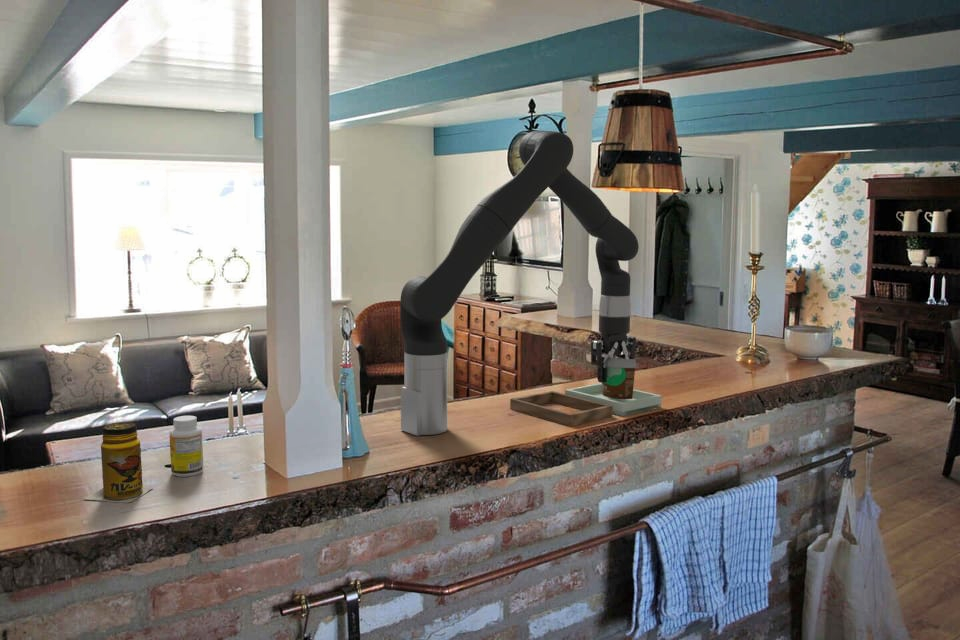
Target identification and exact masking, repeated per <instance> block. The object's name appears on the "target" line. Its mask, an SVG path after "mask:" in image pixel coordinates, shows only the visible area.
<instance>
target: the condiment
mask: <svg viewBox="0 0 960 640" xmlns="http://www.w3.org/2000/svg"><path fill="white" fill-rule="evenodd" d="M137 429H138V427H137V425H136V423H135V422H131V421H130V422H128V421H120V422H119V421H118V422H112V423H109V424H106V425H105V426H103V427H102V430H101V431H102V442H101V444H100V452H101V453H100V456H101V458H100V459H101V470H102V474H101V475H102V476H101V477H102V485H103V486H102V488H100V489H99V490H97V491H96V492H94V493H92V494H90V495H88V496H86V497H84V498H83V500H87V501H88V500H89V501H92V500H93V501H100V502H101V501H103V502H110V503H111V502H112V503H125V504H126V503H131V502H133V501H134V500H136V499H139V498H140V497H142V496H143V495H145V494H146V493H148V492H149V491H150V490H151V491H152V489H153V488H155V487H153V486H151V487H150V486H143V469H142V467H143V466H142V448H141V441H140V439H139V438H138V434H139V433H138V431H137Z"/></svg>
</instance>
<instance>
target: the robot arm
mask: <svg viewBox="0 0 960 640" xmlns="http://www.w3.org/2000/svg"><path fill="white" fill-rule="evenodd" d="M518 154H519V158H520V160H521V163H522V164H523V165H524V166H523V167H522V169H520V170H519V171H518V172H517V173H516V175H515V176H513V177H512V178H511V179H510V180H508V181H507V182H505V183H503V184H502V185H501V186H499V187H497V188H496V189H494V190H493V191H491V192H489V194H487V195H486V196H484V197H483V198H482V199H481V200H480V202H478V204H477V205H475V207H474V208H473V209H472V211H471V212H470V213H469V214H468V216H466V218H465V219H464V221H463V223H462V224H461V225H460V228H459V229H458V232H457V234H456V236H455V239H454V240H453V244H452V246H451V248H450V250H449V252H448V254H447V255H446V256H445V258H444V259H443V260H442V262H441V263H439V265H438V266H437V267H436V268H435V269H434V270H433V271H432V272H431V273H430V274H429V275H428V276H423V275H422V276H416V277H413V278H410V279H409V280H408V281H407V282H406V283H405V284H404V285H403V288H402V290H401V294H400V299H399V300H400V304H399V307H400V309H399V310H400V311H399V312H400V333H401V337H402V338H401V339H402V341H403V347H404V348H403V349H404V352H403V355H404V356H403V358H404V362H403V363H404V366H403V368H404V369H403V370H404V371H403V372H404V373H403V374H404V378H403V379H404V382H403V383H404V386H401V387H400V430H401V431H403V432H405V433H409V434H410V435H414V436H416V437H417V436H418V437H419V436H431V435H438V434H443V433H446V432H447V430H448V340H447V338H446V336H445V334H444V331H443V325H442V324H443V323H442V319H443V318H445V317H446V316H448V314H449V313H450V311H451V310H452V309H453V307H454V305H455V304H456V303H457V301H458V299H459V298H460V296H461V295H462V293H463V292H464V290H465V289H466V287H467V286H468V283H469V282H470V281H471V280H472V278H473V277H474V276H475V274H476V273H477V272H479V270H480V269H481V268H482V267H483V265H484V264H485V263H486V262H487V261H488V259H490V257H491V256H492V255H493V253H494V252H495V251H496V250H497V249H498V248H499V246H500V245H501V244H502V243H503V242H504V240H505V239H506V238H507V236H509V234H511V232H512V230H513V229H514V228H515V226H516V225H517V224H518V222H519V221H520V220H521V219H522V218H523V216H524V215H525V214H526V213H527V211H528V210H529V209H530V208H531V206H533V204H534V203H535V202H536V201H537V199H538V198H539V197H540V196H541V195H542V194H543V193H544V192H545V191H546V190H547V189H549V190H551V191H552V193H554V194H555V196H557V197H558V199H560V201H561V202H562V203H563V204H564V205H565V206H566V207H567V209H568V210H569V211H570V213H572V214H573V216H574V217H575V218H576V220H577V221H578V222H579V223H580V224H581V226H582V227H583V229H584V230H585V231H586V232H587V233H588V235H590V236H592V238H593V237H594V238H597V239H596V242H595V256H596V261H597V265H598V270H599V271H598V272H599V275H600V277H601V278H600V299H599V308H598V309H599V311H598V313H599V314H598V332H599V333H600V339H599V340H594V339H593V340H591V341H590V365H593V366H596V367H597V369H596V370H597V374H596V376H597V382H599V383H606V382H607V368H606V367H607V364H608V360H610V359H611V358H612V356H617V357H624V358H626V359H636V355H635V354H636V346H637V344H636V343H637V339H636V337H635V336H630V335H628V334H629V333H631V309H632V308H631V275H630V273H629V272H628V271H626V270H624V269H622V268H621V266H620V261H621V262H628V261H632V260H633V259H634V258H636V256H637V255H638V252H639V249H640V247H639V242H638V238H637V236H636V235H635V233H634V232H633V231H632V230H631V229H630V228H629V227H628V226H627V225H626V224H624V223H623V222H622V221H621V220H619V219H618V218H617V217H615V216H614V215H613V214H612V213H611V211H610V210H609V208H608V207H607V206H606V205H605V203H604V202H603V201H602V199H601V198H600V197H599V196H598V195H597V194H596V193H595V192H594V191H593V190H592V189H590V188H589V187H588V186H587V185H586V184H585V183H583V182H582V181H581V179H578V178H577V177H576V176H575V175H574V174H573V173H572V172H571V171H570V170H569V169H568V167H569V165H570V163H571V161H572V158H573V155H574V144H573V141H572V139H571V138H570V136H568V135H566V133H563V132H559V131H556V130H555V131H554V130H553V131H552V130H532V131H531V132H528V133H526V134H525V135H524V136H523V138H522V139H521V141H520V143H519V146H518ZM604 352H605V354H606V355H605V354H604ZM629 354H630V355H629ZM603 359H604V362H602V361H603Z"/></svg>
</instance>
